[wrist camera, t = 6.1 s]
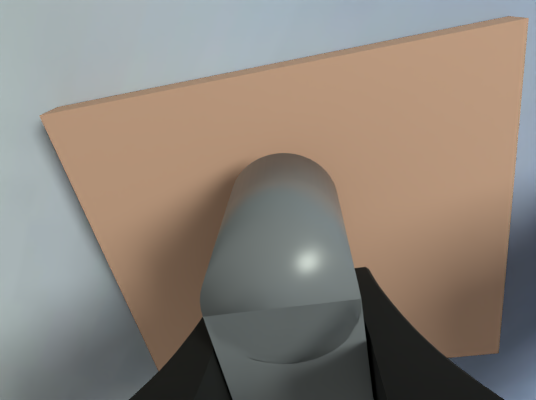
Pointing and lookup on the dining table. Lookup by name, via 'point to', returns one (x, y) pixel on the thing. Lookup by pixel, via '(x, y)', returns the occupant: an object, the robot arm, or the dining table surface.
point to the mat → (333, 162)
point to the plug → (286, 288)
